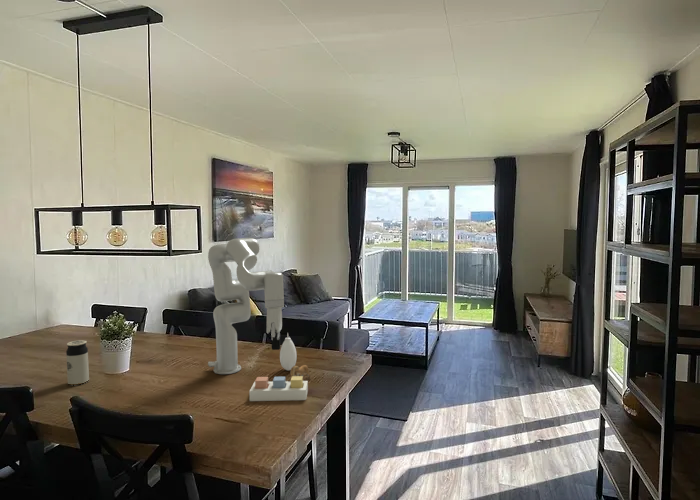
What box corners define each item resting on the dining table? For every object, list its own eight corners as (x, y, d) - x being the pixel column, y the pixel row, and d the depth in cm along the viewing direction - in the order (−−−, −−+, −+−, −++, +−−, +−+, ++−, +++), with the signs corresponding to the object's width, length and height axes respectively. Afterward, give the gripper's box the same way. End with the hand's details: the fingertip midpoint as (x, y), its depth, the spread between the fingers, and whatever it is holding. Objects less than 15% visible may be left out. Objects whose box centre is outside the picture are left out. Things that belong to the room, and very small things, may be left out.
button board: (249, 401, 169) (249, 391, 169) (254, 391, 179) (254, 381, 179) (306, 399, 170) (305, 390, 169) (307, 390, 180) (307, 380, 179)
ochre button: (290, 390, 172) (290, 380, 172) (291, 385, 176) (291, 376, 176) (301, 389, 172) (301, 380, 172) (302, 385, 177) (302, 376, 176)
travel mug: (86, 378, 196) (84, 339, 195) (91, 382, 191) (89, 342, 190) (65, 382, 191) (64, 342, 190) (70, 387, 185) (68, 346, 184)
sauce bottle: (293, 373, 201) (292, 334, 200) (277, 372, 202) (276, 334, 201) (298, 367, 208) (298, 330, 207) (283, 366, 210) (282, 330, 209)
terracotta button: (255, 390, 172) (255, 380, 171) (257, 386, 176) (257, 377, 176) (266, 390, 172) (266, 380, 172) (268, 386, 176) (268, 376, 176)
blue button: (273, 390, 172) (272, 380, 172) (274, 386, 176) (274, 376, 176) (284, 390, 172) (284, 380, 172) (285, 386, 176) (285, 376, 176)
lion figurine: (299, 389, 181) (298, 368, 181) (287, 387, 183) (287, 366, 182) (312, 377, 195) (312, 357, 195) (301, 376, 197) (301, 356, 196)
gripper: (268, 300, 179) (269, 344, 180) (261, 306, 164) (263, 354, 165) (286, 300, 179) (287, 344, 180) (281, 306, 165) (282, 354, 165)
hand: (276, 349), depth 173 cm, fingers closed
